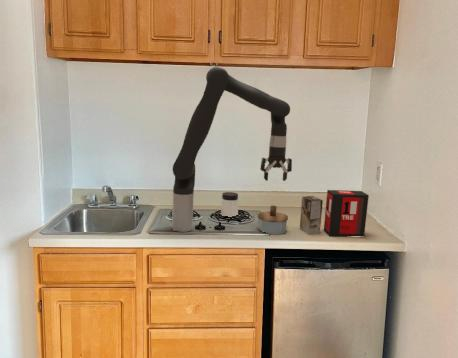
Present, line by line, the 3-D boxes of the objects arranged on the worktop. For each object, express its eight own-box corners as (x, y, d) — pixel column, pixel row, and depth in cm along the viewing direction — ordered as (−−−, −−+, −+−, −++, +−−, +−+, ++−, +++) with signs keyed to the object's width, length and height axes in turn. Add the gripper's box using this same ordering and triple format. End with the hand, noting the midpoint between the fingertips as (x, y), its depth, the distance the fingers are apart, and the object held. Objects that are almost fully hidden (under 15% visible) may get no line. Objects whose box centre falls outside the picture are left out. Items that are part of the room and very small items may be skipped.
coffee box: (320, 233, 201) (323, 200, 198) (308, 234, 198) (311, 200, 195) (310, 227, 209) (313, 195, 206) (298, 228, 207) (301, 196, 204)
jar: (219, 214, 225) (220, 192, 222) (233, 213, 227) (235, 191, 225) (224, 219, 216) (225, 196, 214) (239, 218, 219) (240, 195, 217)
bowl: (263, 234, 195) (264, 221, 194) (256, 226, 207) (257, 214, 205) (288, 234, 197) (289, 221, 196) (280, 226, 209) (281, 214, 208)
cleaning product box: (357, 231, 207) (361, 191, 203) (364, 237, 198) (368, 195, 194) (323, 230, 206) (327, 189, 202) (329, 236, 197) (333, 194, 193)
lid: (262, 222, 193) (263, 210, 192) (254, 214, 206) (255, 202, 205) (291, 222, 195) (292, 210, 194) (282, 213, 209) (283, 202, 208)
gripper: (264, 146, 189) (262, 182, 192) (295, 147, 192) (292, 182, 195) (260, 144, 197) (258, 178, 200) (289, 145, 199) (287, 179, 203)
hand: (275, 180), depth 197 cm, fingers open, 8 cm apart
